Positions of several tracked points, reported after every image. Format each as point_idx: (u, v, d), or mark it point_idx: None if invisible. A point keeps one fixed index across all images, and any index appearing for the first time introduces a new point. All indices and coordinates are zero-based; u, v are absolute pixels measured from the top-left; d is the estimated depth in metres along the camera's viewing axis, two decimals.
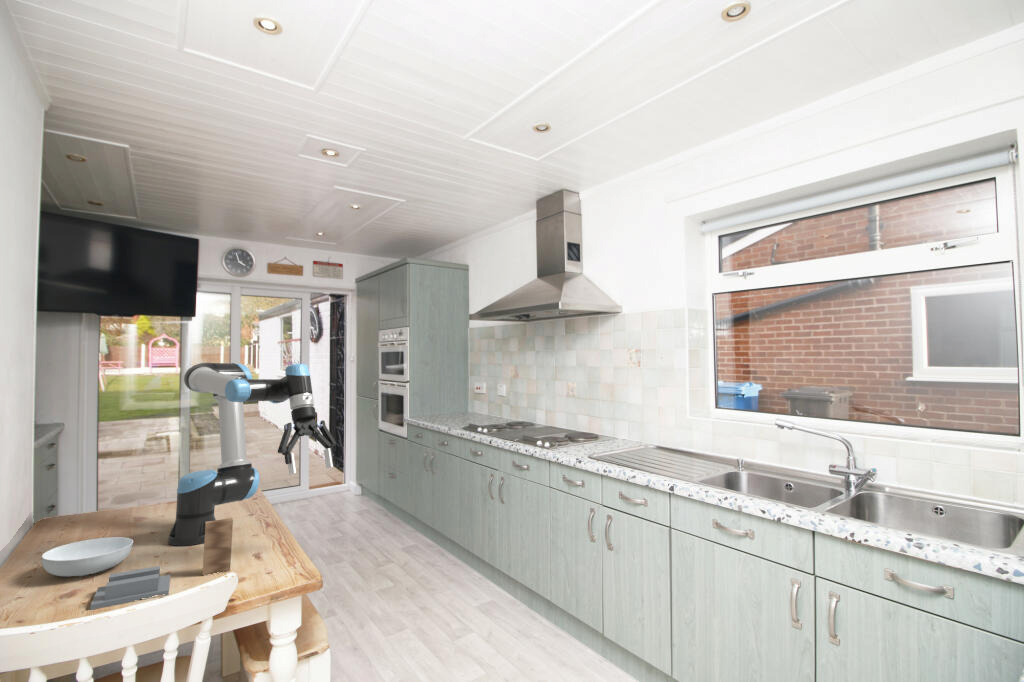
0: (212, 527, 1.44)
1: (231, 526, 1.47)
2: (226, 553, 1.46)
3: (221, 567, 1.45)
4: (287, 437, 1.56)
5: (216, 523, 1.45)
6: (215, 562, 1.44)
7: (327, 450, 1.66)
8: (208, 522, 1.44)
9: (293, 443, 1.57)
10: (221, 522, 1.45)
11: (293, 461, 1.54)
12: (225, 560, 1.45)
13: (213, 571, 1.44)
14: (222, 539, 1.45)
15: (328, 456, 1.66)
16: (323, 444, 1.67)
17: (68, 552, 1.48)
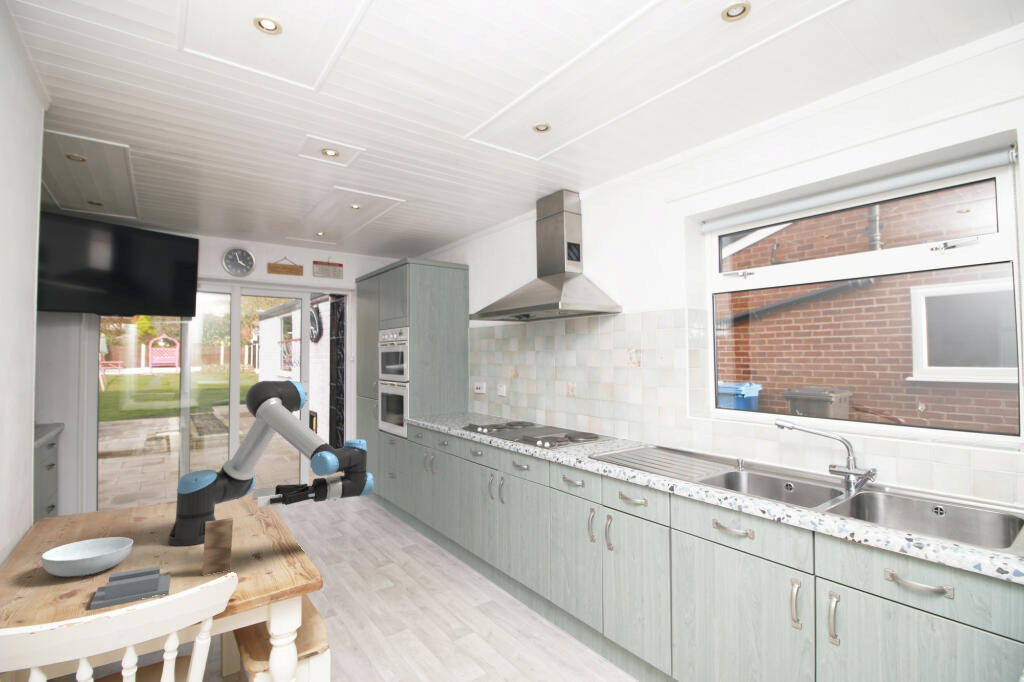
0: (212, 527, 1.44)
1: (231, 526, 1.47)
2: (226, 553, 1.46)
3: (221, 567, 1.45)
4: None
5: (216, 523, 1.45)
6: (215, 562, 1.44)
7: (273, 493, 1.60)
8: (208, 522, 1.44)
9: None
10: (221, 522, 1.45)
11: None
12: (225, 560, 1.45)
13: (213, 571, 1.44)
14: (221, 539, 1.45)
15: (266, 494, 1.59)
16: (281, 489, 1.61)
17: (68, 552, 1.48)
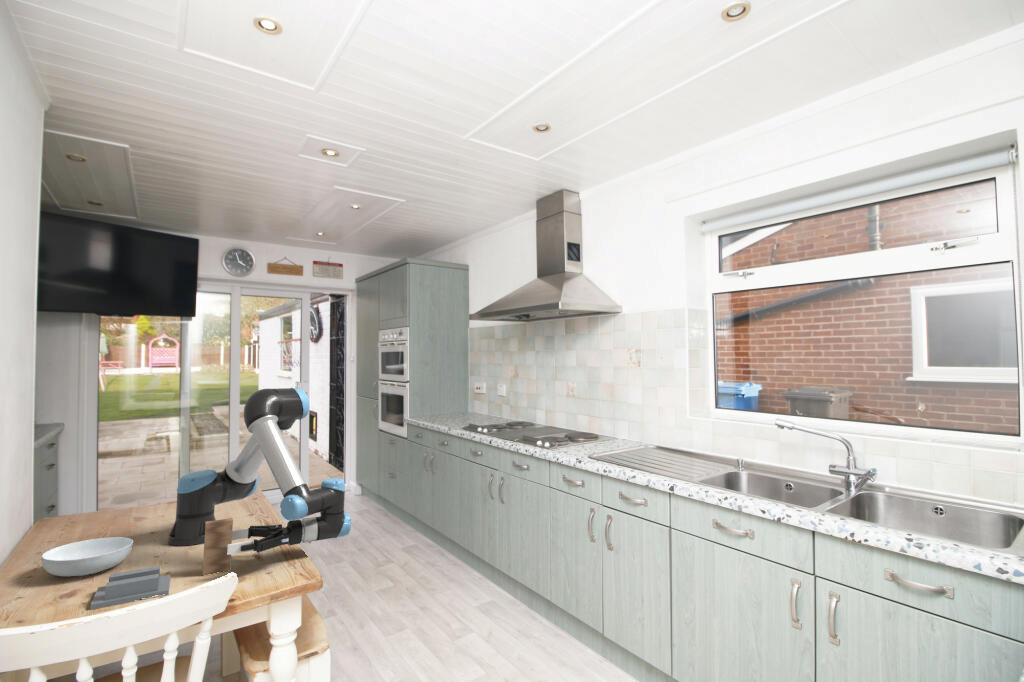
0: (212, 527, 1.44)
1: (231, 526, 1.47)
2: (226, 553, 1.46)
3: (221, 567, 1.45)
4: None
5: (216, 523, 1.45)
6: (215, 562, 1.44)
7: (245, 536, 1.55)
8: (208, 522, 1.44)
9: None
10: (221, 522, 1.45)
11: None
12: (225, 560, 1.45)
13: (213, 571, 1.44)
14: (222, 539, 1.45)
15: (238, 537, 1.54)
16: (254, 531, 1.56)
17: (68, 552, 1.48)
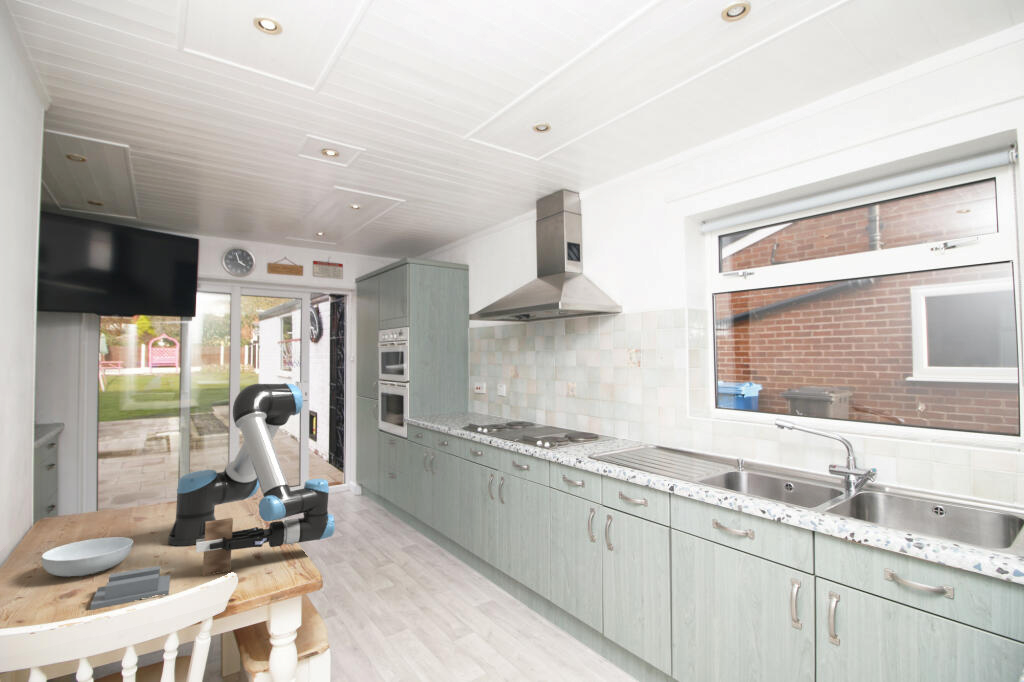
0: (212, 527, 1.44)
1: (231, 526, 1.47)
2: (226, 553, 1.46)
3: (221, 567, 1.45)
4: None
5: (216, 523, 1.45)
6: (215, 562, 1.44)
7: None
8: (208, 522, 1.44)
9: None
10: (221, 522, 1.45)
11: None
12: (225, 560, 1.45)
13: (213, 571, 1.44)
14: (222, 539, 1.45)
15: None
16: None
17: (68, 552, 1.48)
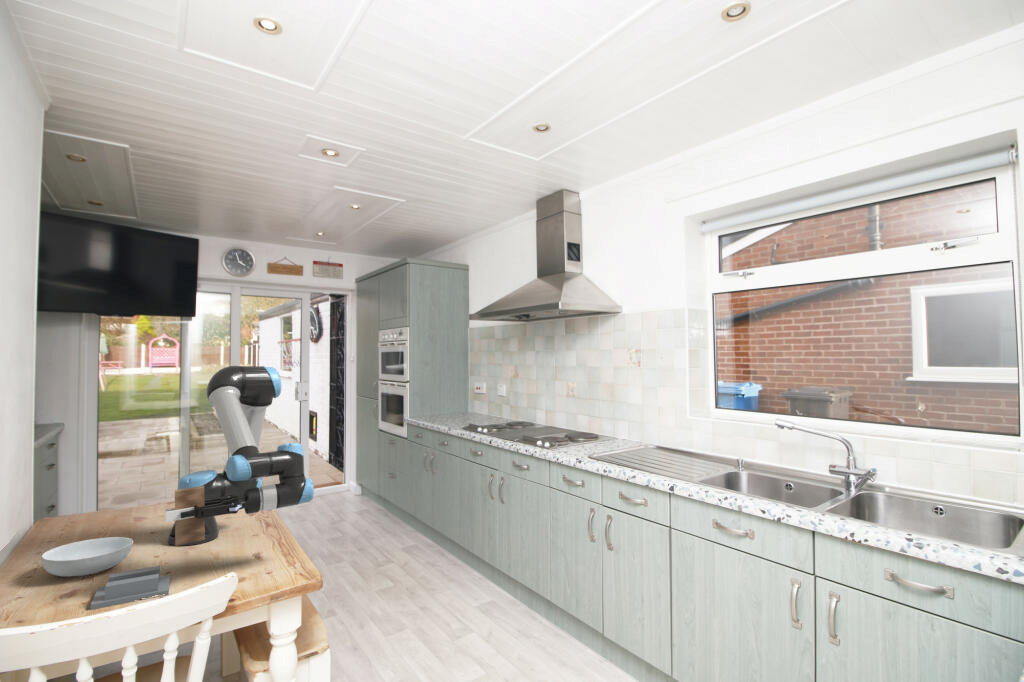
0: (182, 495, 1.37)
1: (203, 494, 1.40)
2: (199, 522, 1.39)
3: (195, 536, 1.38)
4: None
5: (186, 491, 1.38)
6: (188, 531, 1.37)
7: None
8: (177, 490, 1.37)
9: None
10: (192, 490, 1.38)
11: None
12: (199, 529, 1.39)
13: (186, 540, 1.37)
14: None
15: None
16: None
17: (68, 552, 1.48)
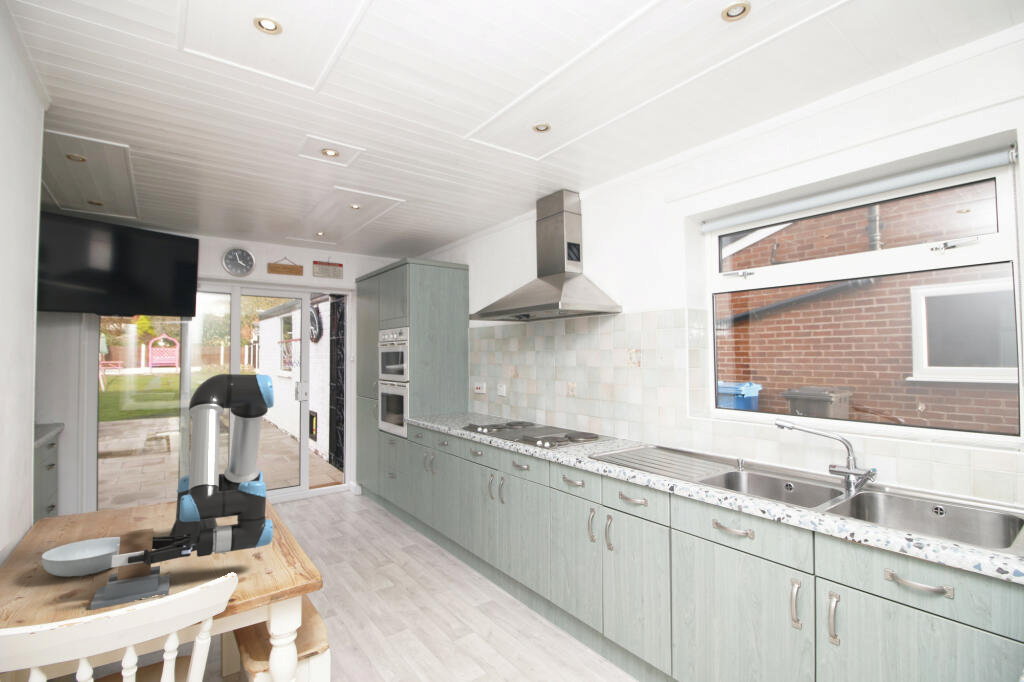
0: (128, 538, 1.30)
1: (151, 537, 1.32)
2: (145, 567, 1.31)
3: None
4: None
5: (133, 534, 1.30)
6: (131, 577, 1.30)
7: None
8: (124, 533, 1.30)
9: None
10: (139, 533, 1.31)
11: None
12: (143, 575, 1.31)
13: None
14: None
15: None
16: (155, 543, 1.37)
17: (68, 552, 1.48)
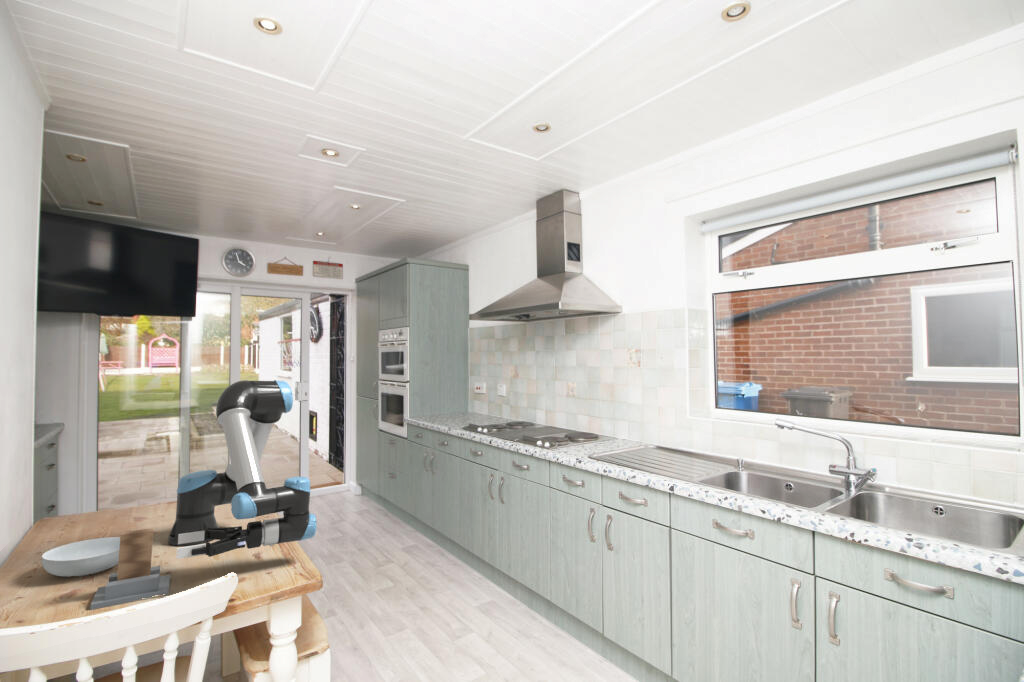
0: (128, 538, 1.30)
1: (151, 537, 1.32)
2: (145, 567, 1.31)
3: None
4: None
5: (133, 534, 1.30)
6: (131, 577, 1.30)
7: (201, 538, 1.45)
8: (124, 533, 1.30)
9: None
10: (139, 533, 1.31)
11: None
12: (143, 575, 1.31)
13: None
14: (139, 552, 1.31)
15: (193, 540, 1.44)
16: (211, 533, 1.46)
17: (68, 552, 1.48)
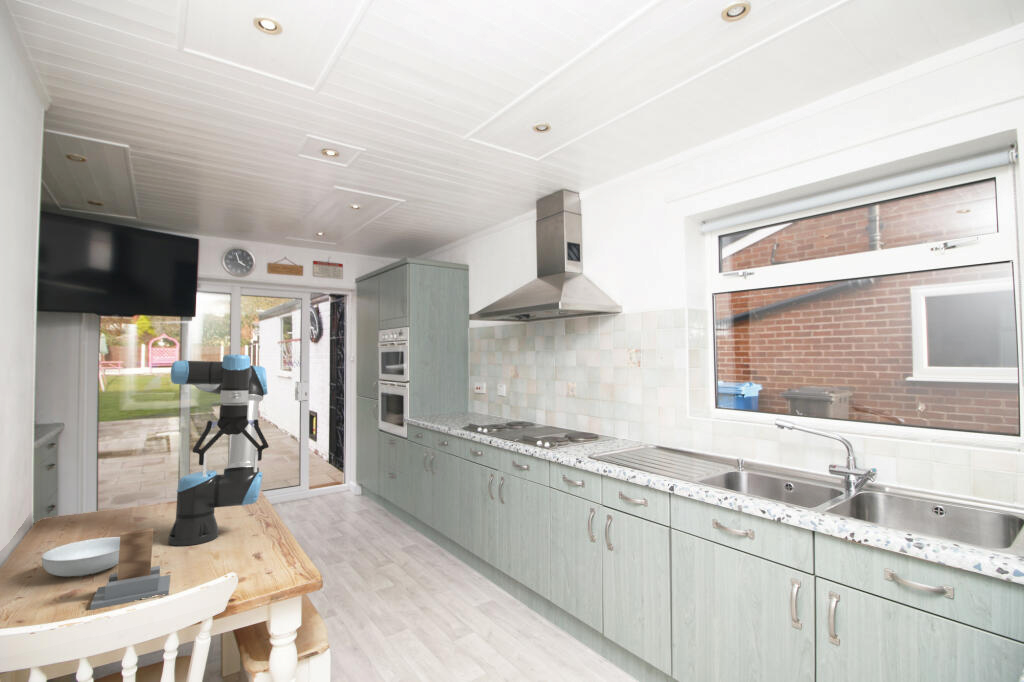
0: (128, 538, 1.30)
1: (151, 537, 1.32)
2: (145, 567, 1.31)
3: None
4: (203, 437, 1.44)
5: (133, 534, 1.30)
6: (131, 577, 1.30)
7: (255, 453, 1.52)
8: (124, 533, 1.30)
9: (209, 444, 1.45)
10: (139, 533, 1.31)
11: (204, 464, 1.44)
12: (143, 575, 1.31)
13: None
14: (139, 552, 1.31)
15: (254, 460, 1.52)
16: None
17: (68, 552, 1.48)
